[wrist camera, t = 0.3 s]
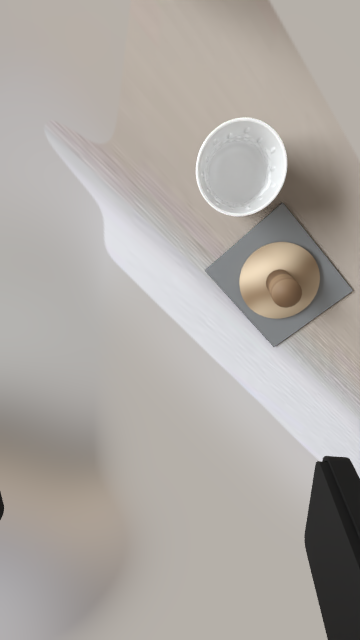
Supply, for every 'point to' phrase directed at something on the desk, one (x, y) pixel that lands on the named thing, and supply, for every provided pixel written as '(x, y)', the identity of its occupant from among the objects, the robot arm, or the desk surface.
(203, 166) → the white cup
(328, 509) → the robot arm
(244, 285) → the lid
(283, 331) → the mat
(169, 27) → the desk surface
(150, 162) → the desk surface
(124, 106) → the desk surface
